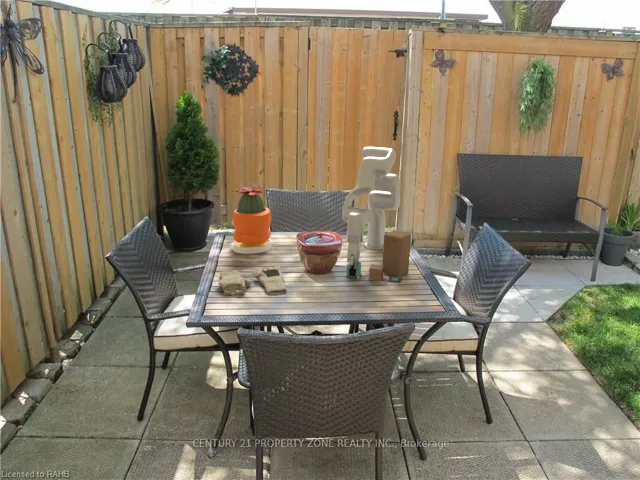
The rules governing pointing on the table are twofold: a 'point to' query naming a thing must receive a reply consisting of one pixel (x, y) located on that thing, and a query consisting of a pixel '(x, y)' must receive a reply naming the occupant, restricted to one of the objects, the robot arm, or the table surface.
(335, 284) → the table surface
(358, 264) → the teal cube
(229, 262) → the table surface
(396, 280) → the card
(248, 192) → the potted cactus
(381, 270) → the walnut cube
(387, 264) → the wooden block
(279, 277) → the pair of gloves
